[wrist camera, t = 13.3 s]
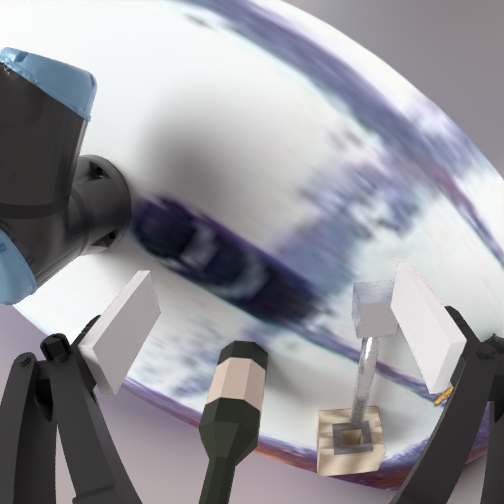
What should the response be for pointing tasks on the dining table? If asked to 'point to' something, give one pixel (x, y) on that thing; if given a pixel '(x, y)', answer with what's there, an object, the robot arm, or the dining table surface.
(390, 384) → the dining table surface
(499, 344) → the fried shrimp in bowl
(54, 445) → the robot arm
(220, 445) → the wine bottle
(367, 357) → the pull pin
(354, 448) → the eye block
